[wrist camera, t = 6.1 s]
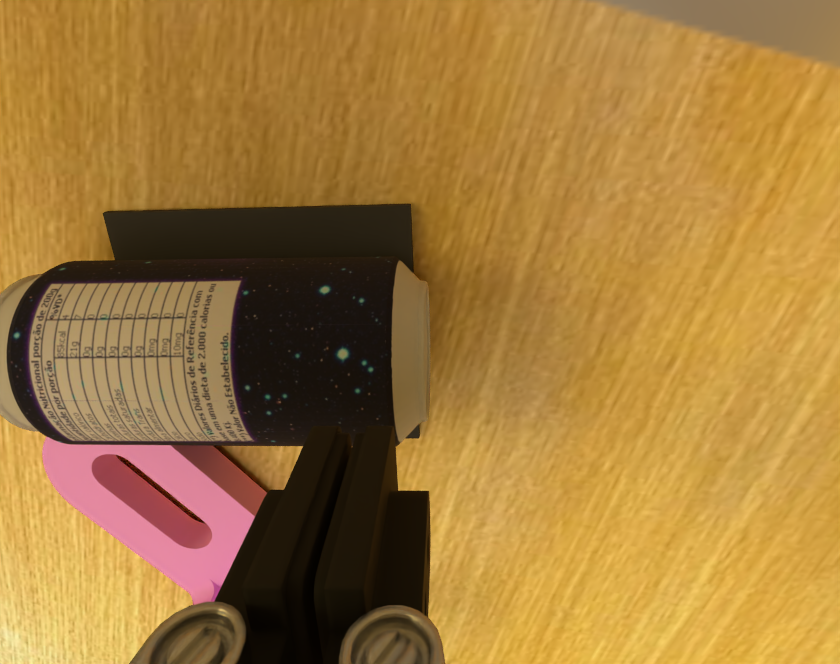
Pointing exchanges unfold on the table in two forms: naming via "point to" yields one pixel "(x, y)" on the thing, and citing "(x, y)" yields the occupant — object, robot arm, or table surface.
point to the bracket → (162, 505)
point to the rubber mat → (264, 234)
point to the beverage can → (215, 350)
